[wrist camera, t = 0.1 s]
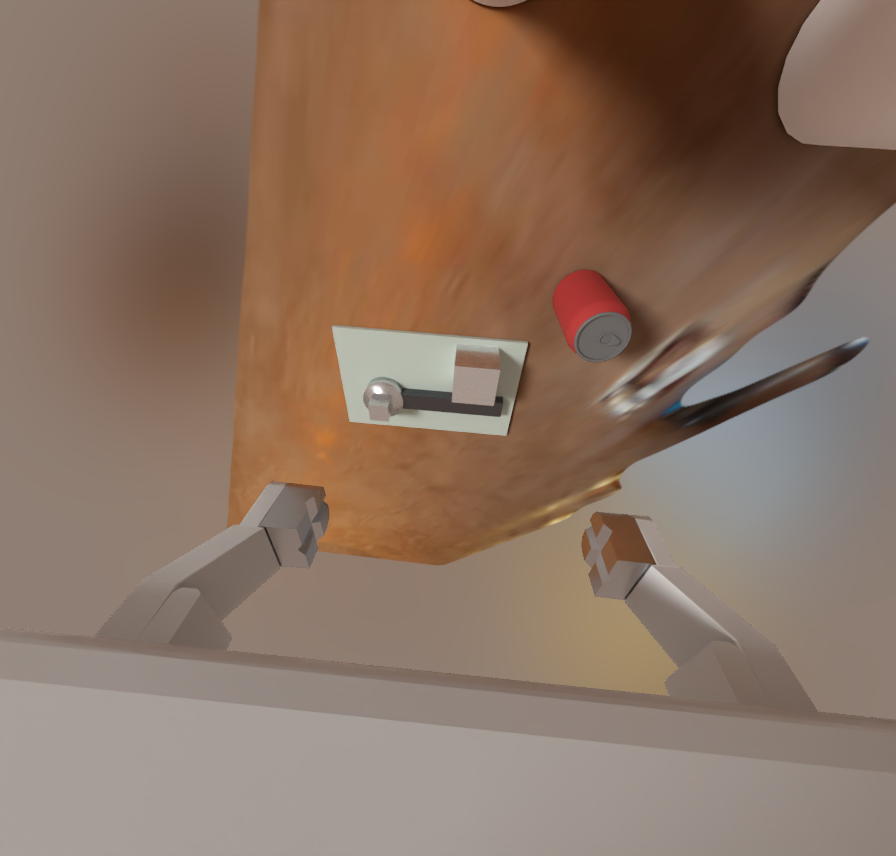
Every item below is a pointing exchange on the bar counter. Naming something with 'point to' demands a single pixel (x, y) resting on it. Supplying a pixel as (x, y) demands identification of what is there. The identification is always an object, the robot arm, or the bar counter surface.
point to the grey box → (476, 374)
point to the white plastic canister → (842, 76)
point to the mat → (421, 374)
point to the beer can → (591, 316)
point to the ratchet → (417, 401)
